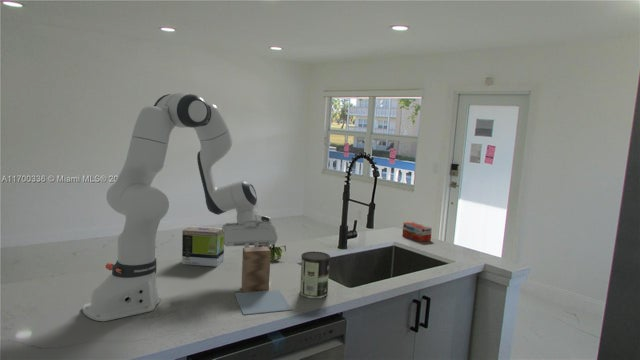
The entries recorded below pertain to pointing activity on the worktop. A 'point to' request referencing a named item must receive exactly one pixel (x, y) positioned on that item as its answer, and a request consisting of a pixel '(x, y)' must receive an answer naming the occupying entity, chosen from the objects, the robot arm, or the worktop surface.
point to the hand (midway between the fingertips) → (252, 254)
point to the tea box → (202, 246)
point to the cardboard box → (255, 269)
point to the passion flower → (274, 251)
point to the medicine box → (416, 231)
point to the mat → (262, 302)
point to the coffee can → (314, 274)
